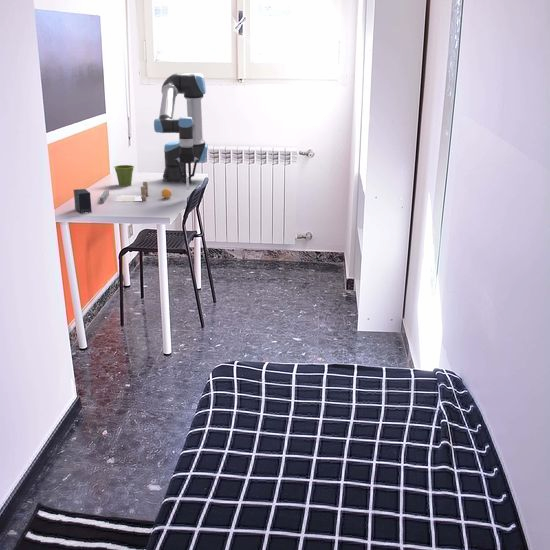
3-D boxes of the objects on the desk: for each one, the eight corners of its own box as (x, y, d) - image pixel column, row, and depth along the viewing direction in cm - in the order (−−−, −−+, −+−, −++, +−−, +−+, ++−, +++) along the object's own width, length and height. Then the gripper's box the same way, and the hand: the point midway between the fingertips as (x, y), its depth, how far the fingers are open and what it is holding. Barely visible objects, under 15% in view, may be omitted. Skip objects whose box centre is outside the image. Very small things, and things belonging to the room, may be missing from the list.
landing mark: (119, 195, 376) (119, 195, 376) (144, 195, 377) (144, 195, 377) (115, 201, 363) (115, 201, 363) (141, 201, 364) (141, 201, 364)
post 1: (144, 195, 377) (143, 181, 375) (148, 195, 378) (147, 181, 375) (143, 196, 375) (142, 182, 372) (147, 196, 375) (147, 182, 373)
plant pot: (137, 186, 399) (135, 167, 395) (117, 187, 395) (115, 169, 391) (133, 182, 409) (132, 164, 405) (113, 183, 405) (112, 165, 401)
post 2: (141, 200, 366) (140, 186, 363) (146, 200, 366) (145, 186, 363) (141, 201, 364) (140, 187, 361) (145, 201, 364) (145, 187, 361)
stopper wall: (105, 194, 378) (105, 189, 377) (109, 194, 378) (108, 189, 377) (100, 203, 359) (99, 197, 358) (103, 203, 359) (103, 197, 358)
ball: (162, 197, 374) (161, 187, 372) (171, 197, 374) (171, 187, 372) (161, 199, 369) (160, 189, 367) (171, 199, 369) (170, 189, 367)
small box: (92, 212, 342) (90, 192, 338) (79, 213, 339) (77, 193, 335) (87, 207, 351) (85, 188, 347) (74, 209, 348) (72, 189, 344)
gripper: (173, 147, 359) (175, 190, 366) (198, 147, 360) (199, 190, 367) (174, 145, 366) (176, 187, 373) (198, 145, 367) (199, 187, 375)
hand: (187, 189), depth 370 cm, fingers closed
